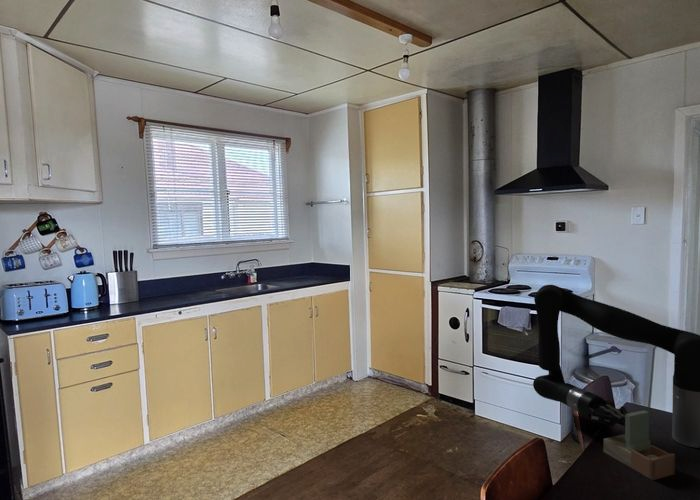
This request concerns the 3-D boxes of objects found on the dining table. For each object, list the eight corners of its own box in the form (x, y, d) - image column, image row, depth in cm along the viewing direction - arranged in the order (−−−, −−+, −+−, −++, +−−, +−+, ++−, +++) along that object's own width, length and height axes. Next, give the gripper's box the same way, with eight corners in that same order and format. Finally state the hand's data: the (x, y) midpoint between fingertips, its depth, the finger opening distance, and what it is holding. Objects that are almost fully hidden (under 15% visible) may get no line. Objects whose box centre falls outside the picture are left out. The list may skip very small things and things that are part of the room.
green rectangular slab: (643, 444, 125) (644, 410, 125) (652, 448, 123) (652, 413, 122) (624, 448, 123) (625, 414, 122) (633, 452, 121) (633, 417, 120)
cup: (652, 462, 123) (652, 443, 123) (674, 474, 117) (675, 454, 117) (630, 467, 121) (631, 448, 121) (652, 480, 115) (652, 460, 115)
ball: (668, 468, 117) (656, 469, 120) (661, 452, 119) (649, 454, 122) (657, 471, 116) (645, 472, 119) (650, 455, 117) (638, 456, 121)
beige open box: (624, 446, 132) (624, 434, 132) (652, 462, 123) (652, 448, 123) (603, 451, 130) (603, 438, 129) (630, 467, 121) (631, 453, 121)
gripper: (569, 394, 138) (616, 417, 122) (602, 388, 142) (652, 410, 125) (569, 417, 139) (616, 443, 122) (601, 411, 142) (652, 435, 126)
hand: (634, 426), depth 124 cm, fingers closed
